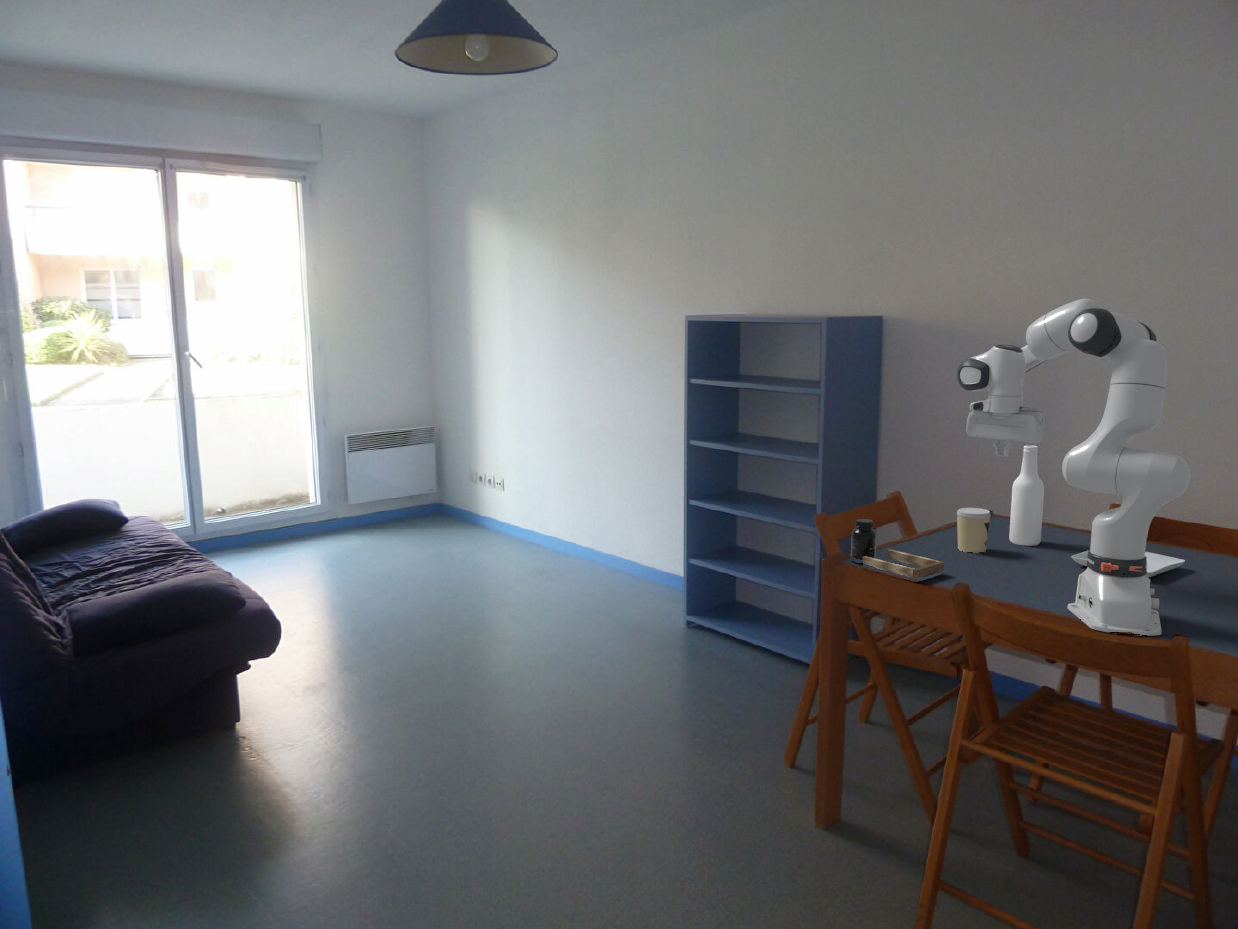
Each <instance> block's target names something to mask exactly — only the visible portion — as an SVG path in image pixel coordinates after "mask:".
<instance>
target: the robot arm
mask: <svg viewBox="0 0 1238 929" xmlns="http://www.w3.org/2000/svg"><path fill="white" fill-rule="evenodd" d="M1025 342H1026V344H1025V345H1024V346H1023V347H1021V348H1020V347H1019V346H1015V345H1011V344H996V345H994V346H992V348H990V349H989V350H987V351H986V352H983V353H981V354H978V355H975V356H972V357H971V356H970V357H969V358H965V359H964V360H962V361H961V362H960V364H959V366H958V368H957V372H956V377H957V382H958V384H959V385H960V387H961V388H962V389H964V390H966V391H968V392H986V391H987V394H988V395H987V398H986V399H982V400H978V401H976V402H972V403H970V404H969V410H970V412H969V413H968V416H967V420H966V426H965V427H966V428H965V430H966V431H965V432H966V434H967V436H968V437H972V438H979V439H989V440H991V442H992V445H993V447H994V450H995V456H996V457H1003V458H1008V457H1009V456H1010V450H1011V449H1012V448H1013V446H1014V445H1015V442H1017V443H1026V444H1037V443H1040V442H1041V441H1043V438H1044V433H1043V432H1044V429H1043V421H1044V413H1043V411H1041V410H1040V409H1038V408H1037V407H1027V406H1024V396H1025V394H1024V393H1025V392H1024V390H1023V389H1024V382H1025V379H1026V373H1027V372H1030V371H1031V370H1033V369H1035V368H1037V367H1038V366H1039V365H1041V364H1043V363H1045V362H1047V361H1049V360H1051V359H1054V358H1057V357H1060V356H1061V355H1064V354H1066V353H1069V352H1070V351H1073V350H1074V349H1077V350H1079V351H1080V352H1082V353H1083V354H1086V355H1091V356H1093V357H1094V358H1095V357H1096V358H1098V359H1099V360H1101V361H1104V362H1109V363H1110V364H1111V367H1112V368H1111V377H1110V384H1109V388H1108V394H1107V400H1106V404H1105V408H1104V412H1103V416H1102V418H1101V420H1100V423H1099V425H1098V426H1097V428H1096V429H1095V430H1094V432H1093V433H1091V435H1090V436H1089V437H1088V438H1087V439H1085V440H1084V441H1082V442H1080V444H1078V445H1076V446H1073V447H1072V448H1071V449H1070V450H1068V452H1067V453H1066V454H1065V456H1064V457H1063V460H1062V463H1061V464H1062V465H1061V471H1062V476H1063V479H1064V480H1065V482H1066V483H1067V484H1068V485H1069V487H1070V486H1071V487H1073V488H1076V489H1080V490H1082V491H1083V490H1084V491H1087V492H1091V493H1092V492H1093V493H1100V494H1107V495H1116V496H1121V497H1122V502H1121V505H1120V506H1118V507H1114V508H1110V509H1108V510H1105V511H1102V512H1100V513H1098V514H1097V515H1096V516H1095V517H1094V518H1093V520H1092V523H1091V531H1090V532H1091V535H1090V546H1089V550H1087V551H1088V555H1087V566H1088V567H1087V566H1086V567H1087V568H1085V570H1084V571H1083V572H1081V573H1080V574H1079V575H1078V579H1077V585H1076V586H1077V587H1076V594H1075V601H1074V602H1070V603H1068V604H1067V607H1066V608H1067V610H1068V611H1070V612H1071V613H1072V614H1073V615H1074V616H1075V617H1077V618H1078V620H1080V619H1081V622H1083V623H1084V624H1085V625H1086V626H1088V627H1089V628H1090V629H1092V630H1095V631H1100V632H1104V633H1110V632H1132V633H1134V634H1140V635H1139V636H1142V635H1147V637H1148V636H1161V635H1162V626H1161V621H1160V620H1161V619H1160V614H1159V611H1158V610H1159V609H1160V598H1156V597H1152V596H1155V590H1156V589H1155V588H1151V578H1150V577H1149V578H1148V577H1147V576H1146V574H1147V557H1146V556H1145V552H1146V547H1147V539H1148V533H1149V529H1150V526H1151V523H1152V521H1153V518H1154V517H1155V515H1156V514H1157V512H1158V511H1159V510H1161V509H1162V508H1163V507H1164V506H1165V505H1166V504H1168V503H1169V502H1171V501H1173V500H1175V499H1177V498H1179V497H1181V496H1182V494H1184V493H1185V492H1186V491H1187V489H1188V487H1189V485H1190V483H1191V478H1192V475H1191V468H1190V466H1189V464H1188V462H1187V461H1186V459H1185V458H1184V457H1183V456H1181V455H1177V454H1175V453H1174V454H1173V453H1171V452H1166V451H1162V450H1157V449H1146V448H1134V447H1127V446H1128V444H1129V442H1130V441H1131V440H1132V439H1133V438H1134V437H1136V436H1137V435H1140V434H1143V433H1146V432H1149V431H1151V430H1153V429H1155V427H1157V426H1158V425H1159V424H1160V422H1161V419H1162V415H1163V408H1164V402H1165V395H1166V389H1167V382H1168V357H1167V356H1168V355H1167V350H1166V348H1165V346H1164V345H1163V344H1161V343H1159V342H1158V341H1157V335H1156V333H1155V332H1154V331H1153V329H1151V328H1150V327H1149V326H1147V325H1146V324H1145V323H1143V322H1140V321H1137V320H1135V319H1133V318H1130V317H1128V316H1127V315H1125V314H1122V313H1119V312H1114V311H1111V310H1107V309H1105V308H1103V307H1102V305H1101V304H1100V303H1099V302H1097V301H1096V300H1094V299H1091V298H1079V299H1077V300H1074V301H1071V302H1068V303H1066V304H1063V305H1061V306H1059V307H1057V308H1055V309H1052V310H1051V311H1049V312H1047V313H1045V314H1043V315H1042V316H1040V317H1038V318H1037V319H1036V320H1034V321H1033V322H1032V323H1031V324H1030V325H1029V326H1028V327H1027V329H1026V332H1025ZM1002 441H1004V444H1005V445H1006V446H1005V447H1004V449H1003V448H1002V446H1001V445H1000V443H1002ZM1156 609H1157V610H1156Z"/></svg>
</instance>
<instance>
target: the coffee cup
mask: <svg viewBox="0 0 1238 929" xmlns="http://www.w3.org/2000/svg"><path fill="white" fill-rule="evenodd" d="M956 516H957V517H956V518H957V519H956V520H957V521H956V523H957V526H956V527H957V529H956V530H957V548H958V549H959V550H958V551H960V552H962V551H963V553H967V552H973V553H972V554H980V553H979V552H984V553H986V550H987V545H988V538H989V529H990V523H991V522H990V520H991V516H992V513H991V512H990V510H988V509H984V508H980V507H960V508H958V509H957V511H956Z"/></svg>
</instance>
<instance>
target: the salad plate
mask: <svg viewBox="0 0 1238 929" xmlns="http://www.w3.org/2000/svg"><path fill="white" fill-rule="evenodd" d="M1088 551H1089V550H1086V551H1083V552H1080V553H1076V554H1073V555H1072V556H1070V557H1071V559H1072V560H1073V561H1075V563H1078V564H1079V565H1082V566H1085V567H1088V566H1087V555H1088ZM1145 556H1146V557H1147V574H1146V576H1147V577H1148V578H1149V579H1150V578H1151V577H1154V576H1158V575H1160V574H1163V573H1166V572H1168V571H1171V570H1174V569H1178V567H1180V566H1183V564H1185V562H1186V560H1185V559H1182V558H1178V557H1173V556H1167V555H1164V554H1159V553H1156V552H1155V553H1154V552H1150V551H1145ZM1157 574H1158V575H1157Z"/></svg>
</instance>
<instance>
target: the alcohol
mask: <svg viewBox="0 0 1238 929" xmlns="http://www.w3.org/2000/svg"><path fill="white" fill-rule="evenodd" d="M1038 449H1039V446H1037V445H1032V444H1031V445H1030V444H1026V445H1024V446H1023V455H1022V461H1021V462H1022V463H1021V468H1020V472H1019V475H1018V476H1017V478H1016V479H1015V480H1014V481H1013V484H1012V487H1011V504H1010V506H1011V507H1010V517H1009V518H1010V519H1009V520H1010V521H1009V523H1010V524H1009V535H1008V537H1009V538H1008V540H1009V541H1010V543H1011V542H1012V543H1011V544H1014V545H1017V546H1024V547H1035V546H1038V545H1040V543H1041V542H1042V526H1043V515H1044V514H1043V512H1044V511H1043V510H1044V500H1045V499H1044V498H1045V497H1044V496H1045V485H1044V482H1043V480H1042V479H1041V478H1040V477H1039V474H1038V472H1039V471H1038V452H1039V451H1038Z"/></svg>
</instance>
